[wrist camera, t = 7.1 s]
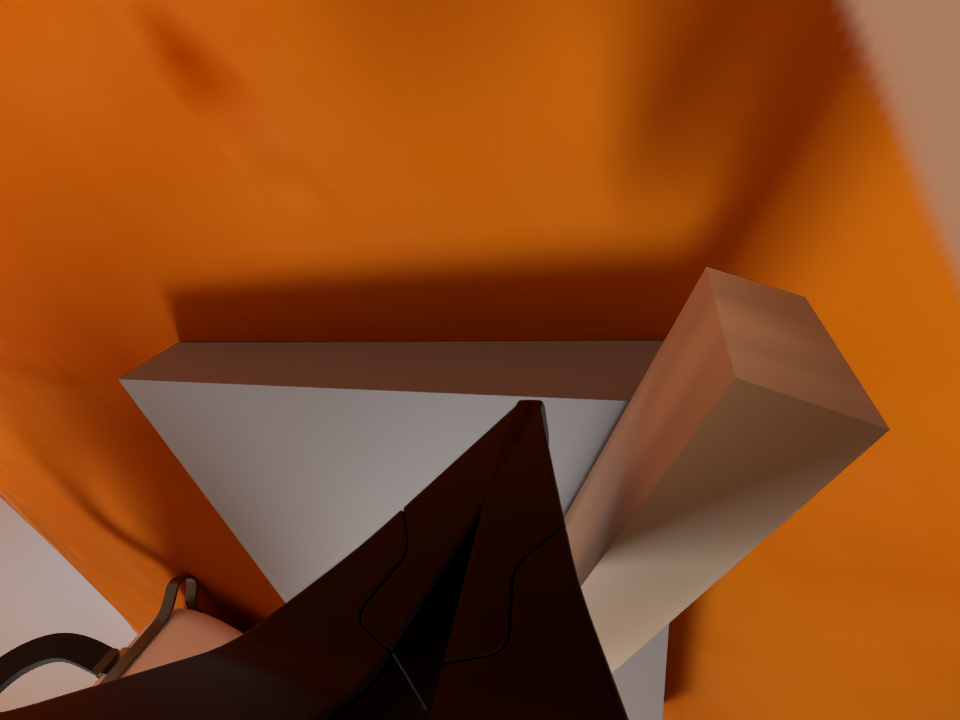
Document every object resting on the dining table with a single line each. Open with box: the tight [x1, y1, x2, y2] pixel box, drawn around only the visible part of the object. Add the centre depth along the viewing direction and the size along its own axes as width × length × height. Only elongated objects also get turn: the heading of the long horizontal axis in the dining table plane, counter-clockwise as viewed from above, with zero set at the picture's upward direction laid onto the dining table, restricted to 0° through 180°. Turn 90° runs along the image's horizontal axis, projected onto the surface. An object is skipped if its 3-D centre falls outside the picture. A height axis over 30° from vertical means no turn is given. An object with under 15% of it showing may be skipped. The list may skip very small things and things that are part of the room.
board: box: [118, 341, 669, 720], centre depth 18 cm, size 18×21×2 cm
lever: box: [564, 267, 890, 673], centre depth 13 cm, size 2×24×4 cm, turn 168°
